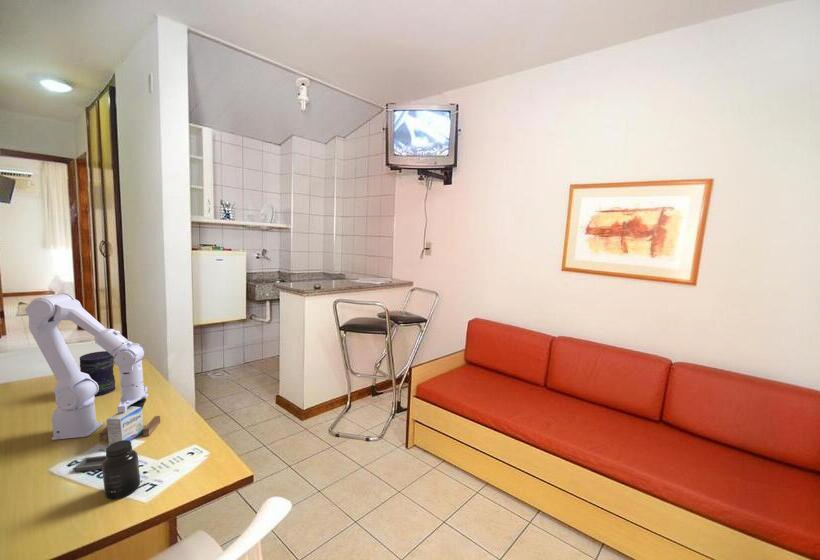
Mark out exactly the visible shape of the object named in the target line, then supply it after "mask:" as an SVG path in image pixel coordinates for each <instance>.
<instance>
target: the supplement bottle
mask: <svg viewBox="0 0 820 560" xmlns="http://www.w3.org/2000/svg"><path fill="white" fill-rule="evenodd" d="M131 441H132V440H131ZM131 441H129V440H122V441H118V442H115V443H113V444H111V445H109V444H108V446H107V447H106V448H105V456H106V458H105V460H104V461H103V463H102V469H101V471H102V480H103V490H104V495H105V497H106V498H107V499H109V500H117V499H118V500H119V499H123V498H124V497H125V498H126V497H128V496H129V495H131V494H133V493H134V492H135V491H137V490H138V488H139V487H140V485H141V475H140V474H141V473H140V465H139V456H138V453H137V451H136V450H135V449H133V445H132V442H131Z"/></svg>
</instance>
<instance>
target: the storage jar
mask: <svg viewBox="0 0 820 560" xmlns="http://www.w3.org/2000/svg"><path fill="white" fill-rule="evenodd" d="M114 363H115V362H114V356H112V355H111V354H110V353H108V352H107V351H106V350H105V351H104V350H103V351H95V352H89V353H85V354H83V355H81V356H79V370H80V371H81V372H83V373H86V374H89V376H90V377H91V379H92V380H94V381H95V382H96V383H97V384H98V386H99V390H98V392H97V394H96V395H95V398H97V397H102V396H105V395H109V394H111V393H113V392H115V390H116V378H115V374H114V365H115V364H114Z"/></svg>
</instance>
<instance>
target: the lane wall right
mask: <svg viewBox="0 0 820 560" xmlns="http://www.w3.org/2000/svg"><path fill="white" fill-rule="evenodd" d="M160 424H161V415H156V416H154V417H152V418H151V420H150V421H149V422H148V423H147V425H145V427H143V433H142V434H143V437H150V436H151V435H152V434H153V432H154V431H155V430H156V429H157V428H158V427H159V425H160Z"/></svg>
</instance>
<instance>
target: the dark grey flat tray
mask: <svg viewBox="0 0 820 560" xmlns="http://www.w3.org/2000/svg"><path fill="white" fill-rule="evenodd" d="M105 458H106V455H100V456H98V455H97V456H90V457H89V456H88V457H84V458H83V459H82V460H81V461H79V463H78V464H77V465H76V466H75V467H74V473H80V472H79V471H82V472H90V471H89V470H91V471H95V470H94V469H100V470H102V463H103V461H104V460H105Z"/></svg>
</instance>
